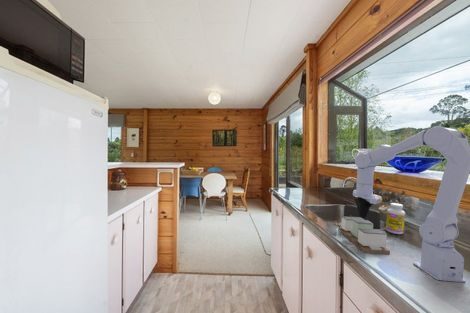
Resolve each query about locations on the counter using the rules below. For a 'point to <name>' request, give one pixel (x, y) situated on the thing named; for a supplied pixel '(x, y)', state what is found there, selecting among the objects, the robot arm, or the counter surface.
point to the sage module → (360, 226)
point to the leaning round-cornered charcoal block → (371, 216)
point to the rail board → (363, 248)
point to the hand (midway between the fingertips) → (362, 217)
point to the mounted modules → (365, 233)
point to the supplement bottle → (395, 219)
